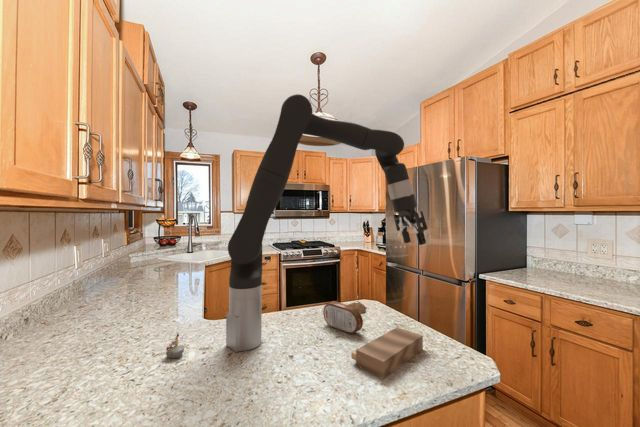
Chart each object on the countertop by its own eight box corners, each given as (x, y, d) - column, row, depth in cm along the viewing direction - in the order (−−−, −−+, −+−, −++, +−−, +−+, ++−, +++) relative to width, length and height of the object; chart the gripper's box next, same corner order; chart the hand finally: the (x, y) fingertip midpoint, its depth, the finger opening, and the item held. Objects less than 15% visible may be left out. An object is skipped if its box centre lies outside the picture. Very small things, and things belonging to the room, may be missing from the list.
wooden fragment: (353, 326, 95) (353, 323, 95) (324, 320, 100) (324, 317, 100) (373, 304, 118) (373, 302, 118) (348, 301, 123) (348, 298, 123)
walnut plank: (383, 379, 64) (383, 361, 64) (351, 363, 71) (351, 347, 71) (422, 349, 78) (422, 335, 78) (392, 338, 85) (392, 325, 85)
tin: (363, 335, 88) (363, 308, 88) (357, 338, 85) (357, 310, 85) (327, 322, 98) (327, 298, 98) (321, 324, 96) (321, 300, 96)
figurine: (184, 358, 73) (183, 334, 74) (165, 362, 71) (164, 338, 72) (184, 352, 78) (183, 330, 78) (166, 356, 76) (166, 333, 76)
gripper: (381, 200, 96) (394, 245, 97) (403, 196, 82) (417, 248, 83) (400, 195, 98) (412, 239, 98) (424, 190, 84) (438, 241, 85)
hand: (414, 243), depth 91 cm, fingers open, 8 cm apart
